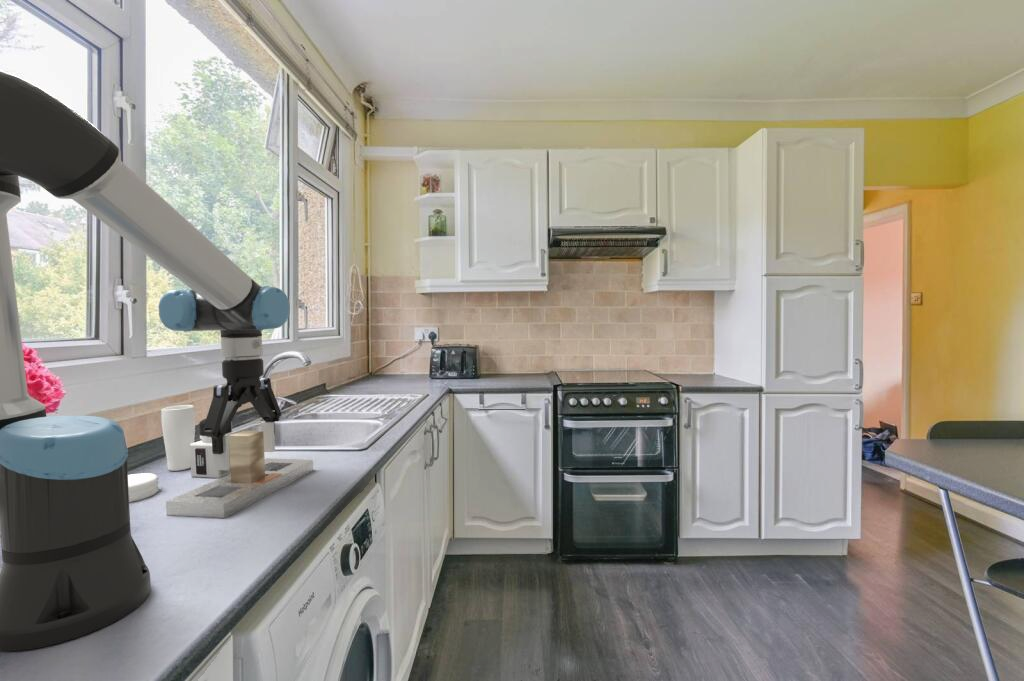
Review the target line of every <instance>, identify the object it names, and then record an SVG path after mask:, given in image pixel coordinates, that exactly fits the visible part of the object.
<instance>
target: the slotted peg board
mask: <svg viewBox="0 0 1024 681" xmlns="http://www.w3.org/2000/svg"><path fill="white" fill-rule="evenodd" d="M313 471H314V460H313V459H296V458H295V459H292V458H291V459H290V458H265V477H263V478H261V479H259V480H257V481H255V482H253V483H231V474H228V475H226V476H223V477H221V478H217V479H215V480H213V481H210V482H208V483H206V484H204V485H201V486H199V487H197V488H194V489H192V490H189V491H187V492H185V493H182V494H181V495H178V496H175V497H172V498H171V499H169V500H166V501H165V509H166V510H165V511H166V512H165V513H166V515H167V516H178V517H179V516H181V517H196V518H197V517H199V518H212V519H213V518H216V519H217V518H218V519H225V518H227V517H229V516H231V515H232V514H235V513H236V512H238V511H241V510H242V509H244V508H246V507H247V506H250V505H252V504H253V503H255V502H257V501H259V500H260V499H262V498H264V497H267V496H269V495H270V494H272V493H274V492H276V491H277V490H279V489H281V488H284V487H286V486H287V485H288V484H291V483H293V482H295V481H296V480H297V479H300V478H302V477H303V476H306V475H307V474H310V473H312V472H313Z"/></svg>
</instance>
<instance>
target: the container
mask: <svg viewBox="0 0 1024 681" xmlns="http://www.w3.org/2000/svg"><path fill="white" fill-rule="evenodd" d="M205 421H206V418H203V419H202V420H200V421H199V422H198V423H199V424H198V425H199V426H198V427H199V439H200V440H198V441H196V442H195V441H194V443H191V444H190V460H191V468H190V473H191V474H190V475H191V477H192V478H209V479H211V478H212V479H213V478H214V479H220V478H222V477H225V476H227V475H229V474H231V470H230V469H229V470H215V463H214V454H213V452H212V438H211V437H207V436H203V435H202V430H203V427H204V424H205ZM211 429H212V428H210V430H211ZM219 431H220V430H219ZM230 435H233V421H232V422H231V424H230V426H229V428H228V430H227V432H226V434H225V436H230ZM229 460H230V450H229Z"/></svg>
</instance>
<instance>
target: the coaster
mask: <svg viewBox="0 0 1024 681" xmlns="http://www.w3.org/2000/svg"><path fill="white" fill-rule="evenodd" d="M158 480H159V476H158V475H157V474H155V473H152V472H148V473H147V472H144V473H143V472H141V473H132V474H128V491H129V503H133V502H137V501H142V500H144V499H147V498H149V497H152V496H154V495H155V494H157V493H158V492H159V489H160V487H159V481H158Z"/></svg>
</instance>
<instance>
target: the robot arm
mask: <svg viewBox="0 0 1024 681" xmlns="http://www.w3.org/2000/svg"><path fill="white" fill-rule="evenodd" d="M19 177H21V178H23V179H26V180H29V181H31V182H33V183H35V184H36V185H38V186H40V187H41V188H43V189H44V190H45V191H46V192H47V193H50V194H51V195H52V196H54V198H57V199H60V200H61V199H63V200H64V199H66V200H70V199H71V200H72V201H74V202H75V203H77V204H78V205H80V207H83V209H85V210H86V211H87V212H88V213H90V214H92V215H93V216H94V217H95V218H96V219H98V220H99V221H101V222H102V223H103V224H104V225H106V226H107V227H109V229H111V230H112V231H114V232H116V233H117V234H118V235H119V236H120V237H122V238H123V239H125V241H127V242H129V243H130V244H131V245H133V246H134V247H135V248H137V250H139V251H141V252H142V253H143V254H145V255H146V257H149V258H150V259H151V260H153V261H154V262H155V263H156V264H157V265H159V266H160V267H162V268H163V269H165V271H166V272H168V273H169V274H171V275H172V276H173V277H175V278H176V279H177V280H179V281H180V282H182V283H183V284H184V285H185V286H187V287H188V288H190V289H188V288H183V289H170V290H168V291H166V292H165V293H164V294H163V295H162V297H161V298H160V300H159V303H158V306H157V307H158V316H159V319H160V321H161V323H162V324H163V326H164V327H166V328H167V329H168V330H171V331H175V332H185V333H187V332H199V331H201V332H204V331H206V332H207V331H220V352H221V354H220V356H221V358H224V360H222V361H221V371H222V372H221V373H222V378H224V379H225V380H226V384H223V385H222V384H217V385H214V387H213V393H212V394H213V395H212V396H213V397H212V398H211V403H210V407H209V410H208V411H207V414H206V418H205V419H206V421H205V424H204V427H203V430H202V435H203V436H207V437H211V438H212V452H213V454H214V463H215V470H229V469H230V460H229V436H225V434H226V432H227V430H228V428H229V426H230V424H231V422H232V423H233V419H234V418H235V416H236V413H237V411H238V410H239V409H240V408H241V407H242V406H243V405H246V404H248V403H250V404H251V405H252V407H253V408H254V409H255V411H256V412H257V414H258V415H259V416H260V417H261V419H262V420H263V421H261V422H260V431H263V436H264V453H266V452H267V453H273V452H276V450H275V449H276V443H275V441H276V440H275V439H276V438H275V434H276V425H275V424H276V423H275V422H279V421H280V418H281V416H282V411H281V409H280V406H279V404H278V402H277V398H276V396H275V394H274V391H273V388H272V383H271V382H272V381H271V378H270V377H262V376H264V372H265V371H264V360H263V358H261V357H262V356H263V352H264V351H263V338H262V337H263V331H265V330H272V329H273V330H274V329H278V328H281V327H282V326H283V325H285V324H286V322H287V321H288V319H289V316H290V312H291V305H290V300H289V297H288V296H287V294H286V293H285V291H284V290H282V289H281V288H278V287H276V286H275V287H273V286H270V285H269V286H267V285H264V286H261V285H260V284H258V283H257V282H256V281H255V280H254V279H252V277H251V276H249V275H248V274H247V273H246V272H245V271H244V270H243V269H242V268H240V267H239V265H237V263H235V262H234V261H233V260H231V259H230V257H228V256H227V255H226V254H225V253H224V252H223V251H222V250H221V249H219V248H218V247H217V245H215V244H214V243H213V242H212V241H210V239H209V238H207V237H206V236H205V235H204V234H203V233H201V232H200V230H198V229H197V228H196V227H195V226H194V225H193V224H192V223H191V222H189V220H187V219H186V218H185V217H184V216H183V215H182V214H181V213H180V212H179V211H177V210H176V209H175V208H174V207H173V206H172V205H171V204H169V203H168V201H166V200H165V199H164V198H163V197H162V196H161V195H160V194H159V193H157V192H156V191H155V190H154V189H153V188H152V187H150V185H149V184H148V183H146V182H145V181H144V180H143V179H142V178H141V177H140V176H139V175H138V174H136V173H135V172H134V171H133V170H132V168H130V167H128V166H127V164H125V163H124V162H123V161H122V152H121V149H120V148H119V147H118V146H117V145H116V144H115V143H114V142H113V141H112V140H111V139H109V137H108V136H106V135H105V134H104V133H103V132H102V131H100V130H99V129H98V128H97V127H96V126H95V125H94V124H92V123H91V122H90V121H89V120H88V119H86V118H85V117H84V116H83V115H81V114H80V113H79V112H77V111H76V110H75V109H73V108H72V107H70V106H69V105H68V104H66V103H64V101H62V100H61V99H59V98H58V97H56V96H54V95H53V94H51V93H50V92H48V91H46V90H45V89H43V88H42V87H39V86H38V85H36V84H34V83H31V82H30V81H28V80H26V79H24V78H22V77H20V76H18V75H14V74H11V73H9V72H7V71H4V70H2V69H0V546H1V559H2V562H1V563H2V566H1V570H0V651H8V652H9V651H10V652H11V651H12V652H13V651H15V652H16V651H24V650H25V651H26V650H33V649H39V648H46V647H47V646H53V645H57V644H61V643H64V642H67V641H70V640H74V639H76V638H80V637H82V636H85V635H88V634H90V633H92V632H95V631H97V630H99V629H102V628H104V627H107V626H109V625H110V624H112V623H114V622H116V621H119V620H120V619H121V618H124V617H125V616H127V615H128V614H130V613H132V612H133V611H134V610H135V609H137V608H138V607H139V606H141V605H142V604H143V603H144V602H145V601H146V600H147V598H148V597H149V596H150V594H151V590H152V586H151V582H152V581H151V572H150V570H149V568H148V567H149V566H148V565H146V563H145V561H144V558H143V556H142V553H141V552H140V550H139V548H138V546H137V544H136V542H135V540H134V538H133V536H132V532H131V513H130V512H131V510H130V502H129V491H128V475H129V472H128V457H129V449H128V446H127V442H126V437H125V431H124V428H123V427H122V426H121V424H120V423H118V422H117V421H115V420H114V419H113V420H112V419H111V418H107V417H102V416H97V415H87V414H85V415H83V414H82V415H81V414H80V415H68V414H67V415H66V414H65V415H63V414H62V415H50V416H47V409H46V404H44V403H42V402H41V401H39V400H37V399H36V398H34V397H32V396H31V395H30V394H29V392H28V390H29V389H28V382H27V376H26V369H25V368H26V365H25V359H24V350H23V349H24V348H23V344H22V333H21V325H20V317H19V308H18V300H17V292H16V283H15V274H14V268H13V260H12V251H11V241H10V232H9V225H8V218H7V214H8V212H9V211H10V210H11V209H13V208H14V207H16V206H17V205H18V204H19V203H21V201H22V198H21V188H20V178H19ZM210 428H212V429H211V430H210ZM219 430H220V431H219Z"/></svg>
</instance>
